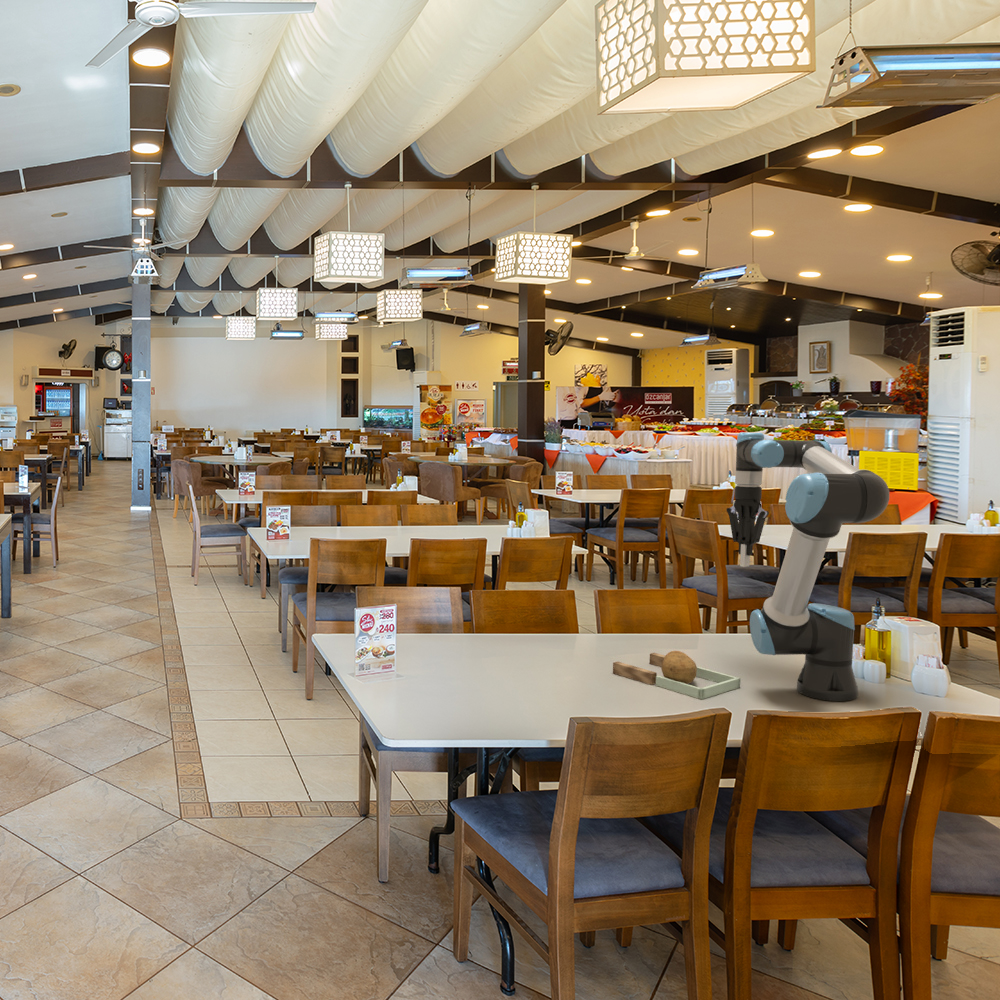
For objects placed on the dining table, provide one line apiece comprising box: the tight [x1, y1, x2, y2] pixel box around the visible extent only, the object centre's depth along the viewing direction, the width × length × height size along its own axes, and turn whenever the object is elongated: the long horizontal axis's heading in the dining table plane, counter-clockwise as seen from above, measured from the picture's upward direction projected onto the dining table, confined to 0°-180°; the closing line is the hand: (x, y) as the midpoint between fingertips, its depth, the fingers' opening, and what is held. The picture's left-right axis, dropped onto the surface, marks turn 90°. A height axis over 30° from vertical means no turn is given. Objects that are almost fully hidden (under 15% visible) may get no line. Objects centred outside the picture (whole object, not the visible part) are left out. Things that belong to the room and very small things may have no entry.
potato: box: [660, 650, 698, 685], centre depth 237 cm, size 10×14×8 cm
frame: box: [655, 666, 741, 700], centre depth 235 cm, size 15×17×2 cm
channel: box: [612, 652, 666, 686], centre depth 246 cm, size 14×18×3 cm
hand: (744, 566), depth 254 cm, fingers closed
